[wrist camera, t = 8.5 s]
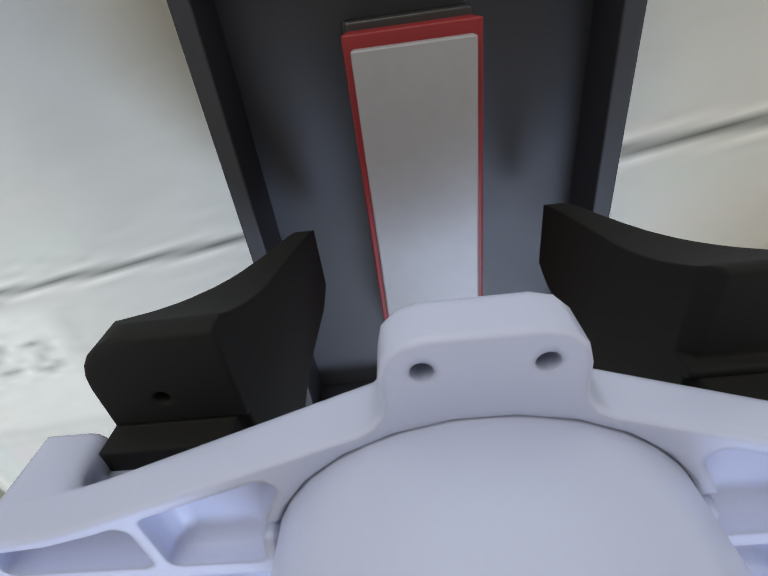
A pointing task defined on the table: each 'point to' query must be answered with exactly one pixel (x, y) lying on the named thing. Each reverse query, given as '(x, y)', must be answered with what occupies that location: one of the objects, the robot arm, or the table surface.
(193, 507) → the robot arm
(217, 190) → the table surface
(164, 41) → the table surface
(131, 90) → the table surface
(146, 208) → the table surface
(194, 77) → the tray
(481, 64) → the red and grey slab
